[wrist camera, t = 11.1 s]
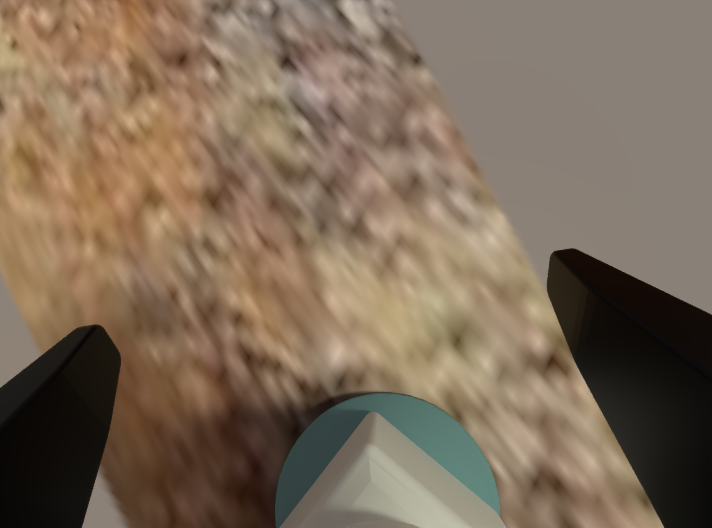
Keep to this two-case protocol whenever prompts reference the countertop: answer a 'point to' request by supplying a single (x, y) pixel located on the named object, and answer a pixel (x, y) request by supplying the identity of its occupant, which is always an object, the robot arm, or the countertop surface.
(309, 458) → the coaster
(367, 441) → the medicine bottle
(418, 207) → the countertop surface
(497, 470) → the countertop surface
